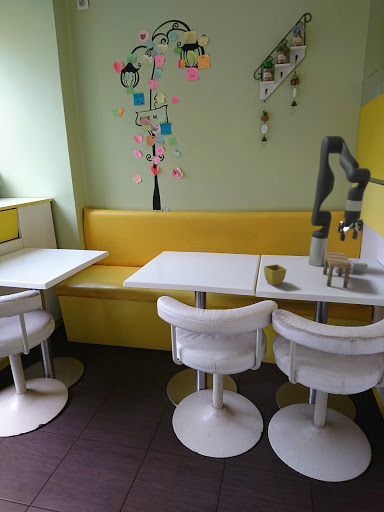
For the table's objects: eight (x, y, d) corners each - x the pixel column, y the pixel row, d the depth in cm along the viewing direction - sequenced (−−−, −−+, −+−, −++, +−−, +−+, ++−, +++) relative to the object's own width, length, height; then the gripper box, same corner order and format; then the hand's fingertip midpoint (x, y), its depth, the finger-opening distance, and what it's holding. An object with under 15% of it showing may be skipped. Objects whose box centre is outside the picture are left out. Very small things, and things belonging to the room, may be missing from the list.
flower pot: (262, 281, 185) (263, 265, 182) (276, 279, 188) (277, 264, 185) (271, 287, 177) (272, 271, 174) (285, 285, 180) (287, 269, 177)
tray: (333, 267, 208) (334, 257, 206) (363, 269, 204) (365, 260, 202) (335, 272, 198) (337, 263, 197) (367, 275, 194) (369, 265, 193)
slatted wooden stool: (322, 273, 197) (325, 251, 193) (341, 275, 195) (344, 253, 191) (326, 286, 179) (330, 262, 175) (347, 288, 177) (351, 264, 173)
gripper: (357, 206, 178) (352, 236, 183) (336, 208, 173) (332, 239, 178) (369, 209, 172) (364, 240, 177) (349, 211, 166) (344, 243, 171)
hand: (348, 239), depth 177 cm, fingers open, 8 cm apart
